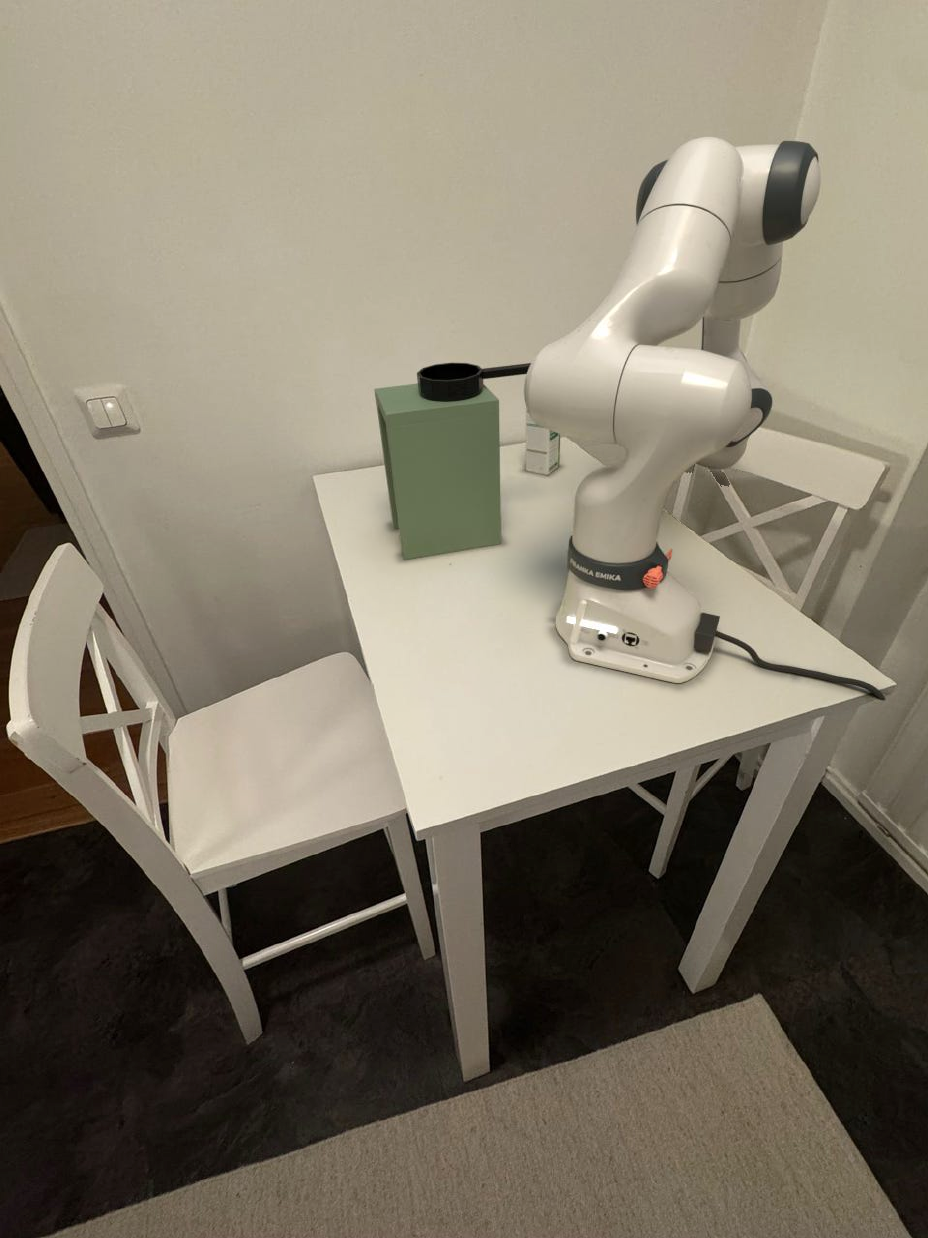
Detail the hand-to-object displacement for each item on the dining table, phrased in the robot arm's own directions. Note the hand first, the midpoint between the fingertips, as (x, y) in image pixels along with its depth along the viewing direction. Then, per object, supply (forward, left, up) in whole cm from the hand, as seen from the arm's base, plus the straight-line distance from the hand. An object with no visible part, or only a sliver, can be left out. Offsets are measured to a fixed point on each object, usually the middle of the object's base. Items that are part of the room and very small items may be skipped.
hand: (616, 394), depth 106 cm
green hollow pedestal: (+22, +24, -22) cm, 39 cm away
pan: (+15, +16, +4) cm, 22 cm away
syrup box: (+20, -11, -22) cm, 32 cm away
